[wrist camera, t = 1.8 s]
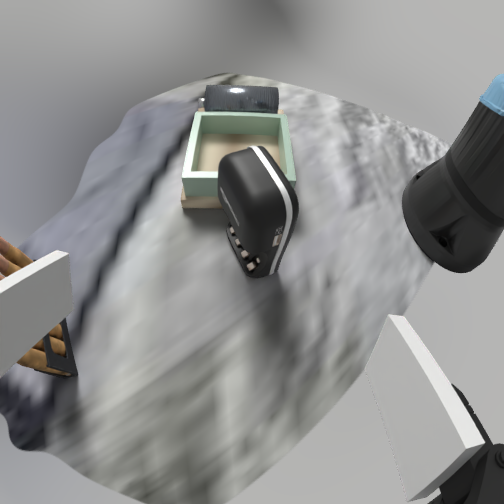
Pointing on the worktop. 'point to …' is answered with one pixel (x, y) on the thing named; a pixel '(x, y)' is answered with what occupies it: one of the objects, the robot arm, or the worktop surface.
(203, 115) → the mint green tray
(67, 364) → the ammunition clip
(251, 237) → the battery charger
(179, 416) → the worktop surface
